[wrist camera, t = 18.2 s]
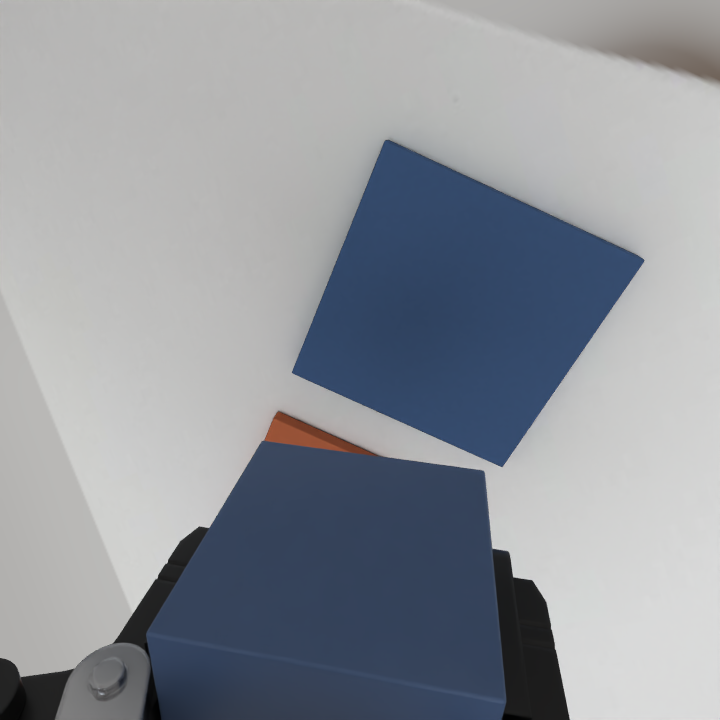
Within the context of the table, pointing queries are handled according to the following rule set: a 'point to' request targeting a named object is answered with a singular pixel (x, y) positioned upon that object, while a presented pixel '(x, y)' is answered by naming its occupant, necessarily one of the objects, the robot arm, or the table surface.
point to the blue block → (336, 596)
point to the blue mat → (458, 305)
